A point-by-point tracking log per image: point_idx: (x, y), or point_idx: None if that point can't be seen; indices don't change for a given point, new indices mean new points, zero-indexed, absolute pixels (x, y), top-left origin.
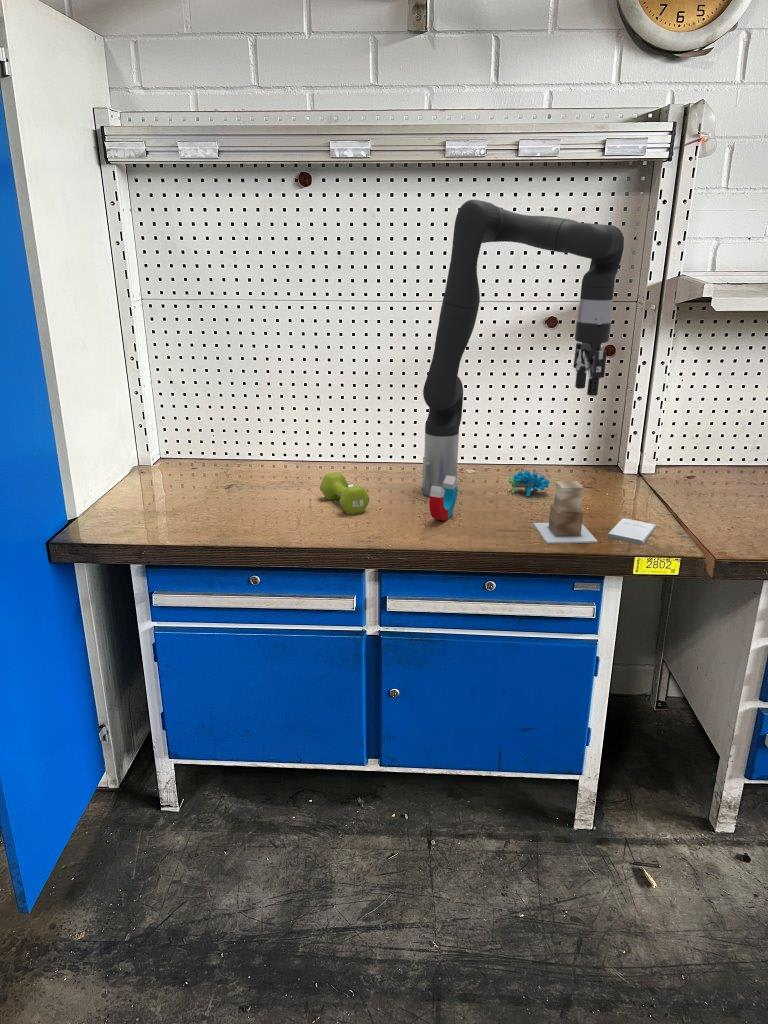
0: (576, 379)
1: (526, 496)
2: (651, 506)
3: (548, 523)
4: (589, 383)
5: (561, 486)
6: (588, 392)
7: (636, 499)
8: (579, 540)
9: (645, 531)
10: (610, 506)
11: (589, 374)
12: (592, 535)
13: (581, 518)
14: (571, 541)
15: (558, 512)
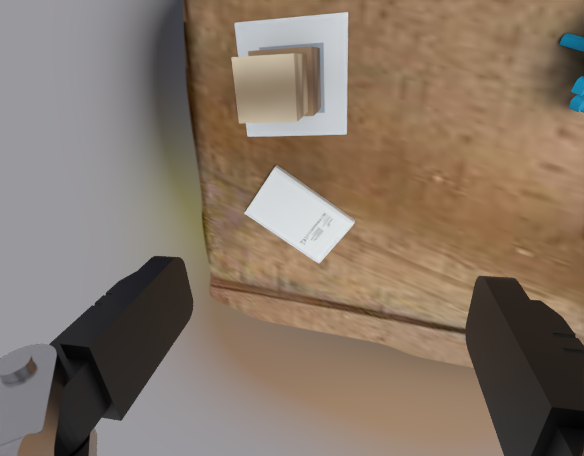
0: (528, 331)
1: (567, 35)
2: (427, 300)
3: (341, 53)
4: (91, 315)
5: (243, 58)
6: (147, 265)
7: (472, 292)
8: None
9: (284, 234)
10: (441, 230)
11: (14, 389)
12: (274, 135)
13: None
14: None
15: (250, 52)
